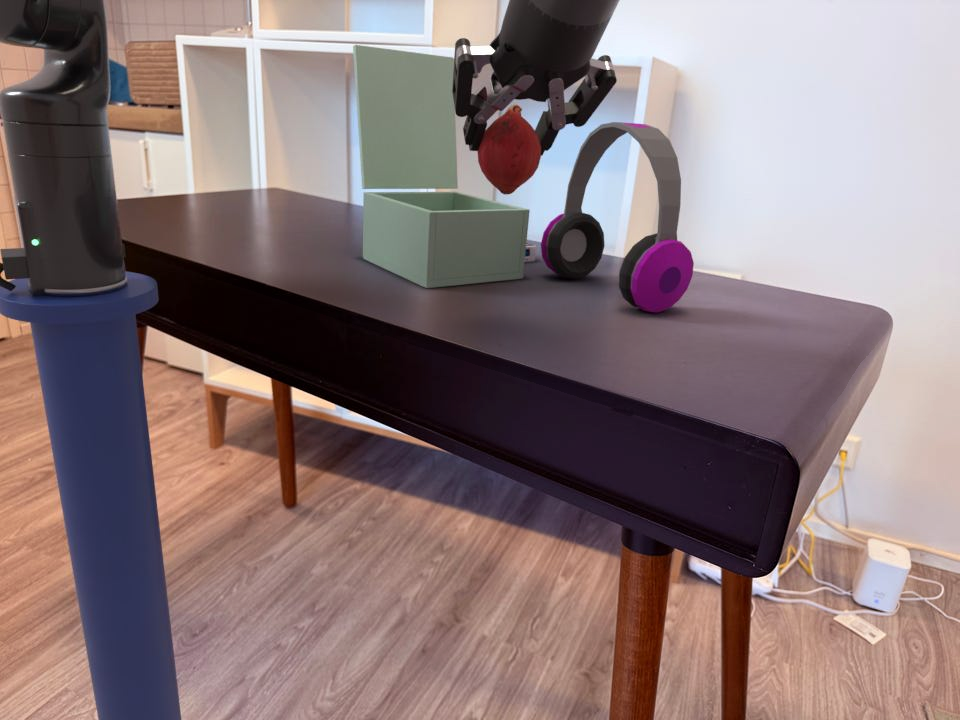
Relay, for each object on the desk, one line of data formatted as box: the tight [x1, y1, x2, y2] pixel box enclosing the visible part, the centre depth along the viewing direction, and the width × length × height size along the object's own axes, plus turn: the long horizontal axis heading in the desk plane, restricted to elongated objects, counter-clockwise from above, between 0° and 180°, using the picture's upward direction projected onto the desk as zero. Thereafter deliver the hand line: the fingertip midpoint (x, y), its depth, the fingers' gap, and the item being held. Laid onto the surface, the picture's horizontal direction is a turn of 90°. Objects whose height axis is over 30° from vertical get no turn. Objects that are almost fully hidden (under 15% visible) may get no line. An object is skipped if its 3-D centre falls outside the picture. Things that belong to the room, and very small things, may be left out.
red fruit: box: [477, 103, 542, 195], centre depth 61 cm, size 6×6×8 cm
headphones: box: [540, 121, 695, 313], centre depth 79 cm, size 21×9×20 cm, turn 28°
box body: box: [362, 191, 531, 289], centre depth 87 cm, size 17×15×9 cm
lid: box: [352, 44, 459, 190], centre depth 91 cm, size 18×15×4 cm
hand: (504, 145), depth 63 cm, fingers closed on red fruit, 5 cm apart
